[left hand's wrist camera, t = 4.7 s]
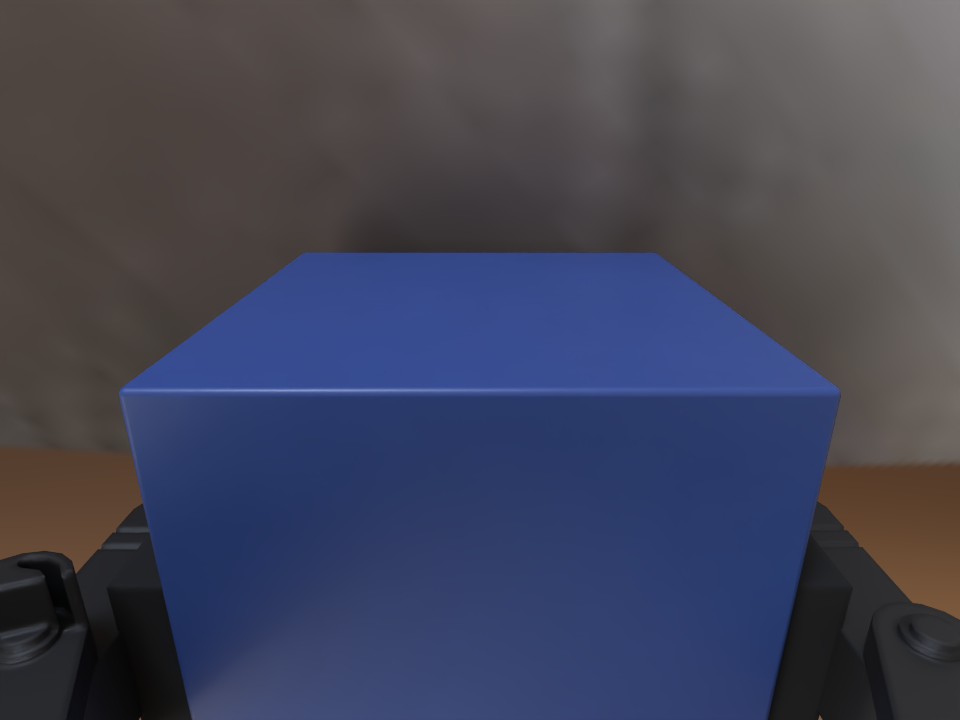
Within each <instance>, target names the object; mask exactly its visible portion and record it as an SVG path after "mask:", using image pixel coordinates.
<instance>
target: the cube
mask: <svg viewBox="0 0 960 720" xmlns="http://www.w3.org/2000/svg"><path fill="white" fill-rule="evenodd" d="M840 397H841V395H840V390H839V388H838V387H836V386H835V385H833V384H832V383H831V382H829V381H828V380H827V379H825V378H824V377H823V376H821V375H820V374H819V373H817V372H816V371H815V370H813V369H812V368H811V367H809V366H808V365H807V364H805V363H804V362H802V361H801V360H800V359H798V358H797V357H796V356H794V355H793V354H792V353H790V352H789V351H788V350H786V349H785V348H784V347H782V346H781V345H780V344H778V343H777V342H776V341H774V340H773V339H771V338H770V337H769V336H767V335H766V334H765V333H763V332H762V331H761V330H759V329H758V328H757V327H755V326H754V325H753V324H751V323H750V322H749V321H747V320H746V319H744V318H743V317H742V316H740V315H739V314H738V313H736V312H735V311H734V310H732V309H731V308H730V307H728V306H727V305H726V304H724V303H723V302H722V301H720V300H719V299H718V298H716V297H715V296H713V295H712V294H711V293H709V292H708V291H707V290H705V289H704V288H703V287H701V286H700V285H699V284H697V283H696V282H695V281H693V280H692V279H691V278H689V277H688V276H687V275H685V274H684V273H682V272H681V271H680V270H678V269H677V268H676V267H674V266H673V265H672V264H670V263H669V262H668V261H666V260H665V259H664V258H662V257H661V256H660V255H658V254H656V253H303V254H302V255H300V256H299V257H297V258H296V259H295V260H293V261H292V262H291V263H289V264H288V265H287V266H285V267H284V268H283V269H281V270H280V271H279V272H277V273H276V274H275V275H273V276H272V277H270V278H269V279H268V280H266V281H265V282H264V283H262V284H261V285H260V286H258V287H257V288H256V289H254V290H253V291H252V292H250V293H249V294H248V295H246V296H245V297H243V298H242V299H241V300H239V301H238V302H237V303H235V304H234V305H233V306H231V307H230V308H229V309H227V310H226V311H225V312H223V313H222V314H221V315H219V316H218V317H216V318H215V319H214V320H212V321H211V322H210V323H208V324H207V325H206V326H204V327H203V328H202V329H200V330H199V331H198V332H196V333H195V334H194V335H192V336H191V337H189V338H188V339H187V340H185V341H184V342H183V343H181V344H180V345H179V346H177V347H176V348H175V349H173V350H172V351H171V352H169V353H168V354H167V355H165V356H164V357H162V358H161V359H160V360H158V361H157V362H156V363H154V364H153V365H152V366H150V367H149V368H148V369H146V370H145V371H144V372H142V373H141V374H140V375H138V376H137V377H136V378H134V379H133V380H131V381H130V382H129V383H127V384H126V385H125V386H123V387H122V388H121V389H120V392H119V399H120V404H121V408H122V413H123V417H124V422H125V426H126V430H127V435H128V439H129V444H130V448H131V453H132V457H133V461H134V466H135V470H136V475H137V479H138V484H139V488H140V492H141V497H142V501H143V506H144V510H145V515H146V519H147V523H148V528H149V532H150V537H151V541H152V546H153V550H154V554H155V559H156V563H157V568H158V572H159V577H160V581H161V585H162V590H163V594H164V599H165V603H166V608H167V612H168V616H169V621H170V625H171V630H172V634H173V639H174V643H175V647H176V652H177V656H178V661H179V665H180V670H181V674H182V678H183V683H184V687H185V692H186V696H187V701H188V705H189V709H190V714H191V718H192V720H768V716H769V712H770V708H771V703H772V699H773V694H774V690H775V685H776V681H777V677H778V672H779V668H780V663H781V659H782V654H783V650H784V645H785V641H786V637H787V632H788V628H789V623H790V619H791V614H792V610H793V606H794V601H795V597H796V592H797V588H798V583H799V579H800V575H801V570H802V566H803V561H804V557H805V552H806V548H807V543H808V539H809V535H810V530H811V526H812V521H813V517H814V512H815V508H816V504H817V499H818V495H819V490H820V486H821V481H822V477H823V472H824V468H825V464H826V459H827V455H828V450H829V446H830V441H831V437H832V433H833V428H834V424H835V419H836V415H837V410H838V406H839V402H840Z"/></svg>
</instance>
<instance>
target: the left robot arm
mask: <svg viewBox="0 0 960 720" xmlns="http://www.w3.org/2000/svg"><path fill="white" fill-rule="evenodd" d="M819 715H820V716H821V718H822V719H823V720H960V620H959V619H957V618H955V617H953V616H951V615H950V614H948V613H946V612H943V611H940V610H937V609H934V608H931V607H928V606H925V605H922V604H916V603H912V602H911V601H910V600H909V599H908V598H907V596H906V595H905V594H904V593H903V592H902V591H901V590H900V589H899V588H898V586H897V585H896V584H895V583H894V582H893V581H892V580H891V579H890V578H889V576H888V575H887V574H886V573H885V572H884V571H883V570H882V569H881V567H880V566H879V565H878V564H877V563H876V562H875V561H874V560H873V559H872V557H871V556H870V555H869V554H868V553H867V552H866V551H865V550H864V549H863V548H862V547H859V545H858V542H857V541H856V540H855V539H854V537H853V536H852V535H851V534H850V533H849V532H848V531H847V530H844V526H843V525H842V524H841V523H840V522H839V521H838V520H837V519H836V517H835V516H834V515H833V514H832V513H831V512H830V511H829V510H828V509H827V507H825V506H824V505H822V504H821V503H819V502H817V504H816V508H815V512H814V517H813V521H812V526H811V530H810V535H809V539H808V543H807V548H806V552H805V557H804V561H803V566H802V570H801V575H800V579H799V583H798V588H797V592H796V597H795V601H794V606H793V610H792V614H791V619H790V623H789V628H788V632H787V637H786V641H785V645H784V650H783V654H782V659H781V663H780V668H779V672H778V677H777V681H776V685H775V690H774V694H773V699H772V703H771V708H770V712H769V716H768V720H818V718H819ZM140 717H141V720H192V718H191V714H190V709H189V705H188V701H187V696H186V692H185V687H184V683H183V678H182V674H181V670H180V665H179V661H178V656H177V652H176V647H175V643H174V639H173V634H172V630H171V625H170V621H169V616H168V612H167V608H166V603H165V599H164V594H163V590H162V585H161V581H160V577H159V572H158V568H157V563H156V559H155V554H154V550H153V546H152V541H151V537H150V532H149V528H148V523H147V519H146V515H145V510H144V506H143V504H141V505H140V506H138V507H136V508H135V509H134V510H133V511H132V512H131V513H130V514H129V515H128V516H127V517H126V519H125V520H124V521H123V522H122V523H121V524H120V525H119V526H118V527H117V529H116V533H112V534H111V535H110V536H109V538H108V539H107V540H106V541H105V542H104V543H103V544H102V548H101V549H98V550H97V551H96V552H95V553H94V554H93V556H92V557H91V558H90V559H89V560H88V561H87V562H86V563H85V564H84V566H83V567H82V568H81V569H80V570H79V571H78V572H77V573H76V574H75V570H74V567H73V563H72V561H71V560H70V559H69V558H67V557H66V556H65V555H63V554H62V553H55V552H48V551H40V552H32V553H23V554H19V555H16V556H12V557H9V558H6V559H2V560H0V720H139V718H140Z"/></svg>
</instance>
